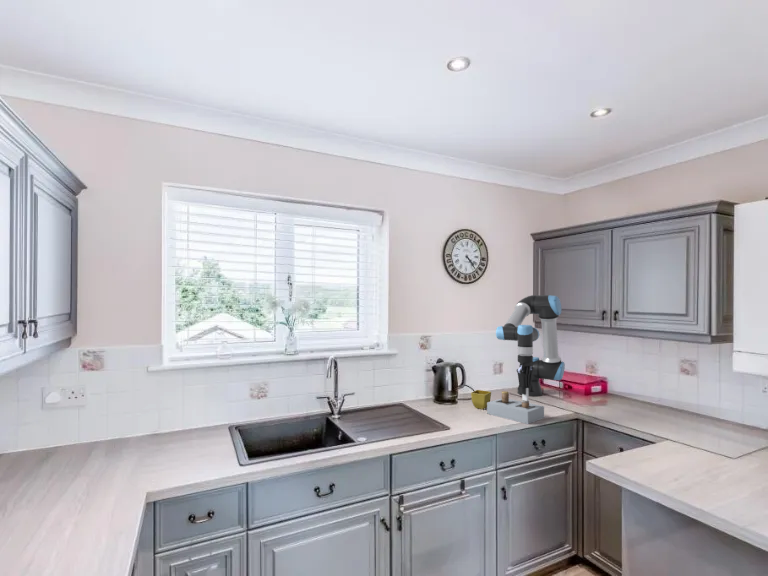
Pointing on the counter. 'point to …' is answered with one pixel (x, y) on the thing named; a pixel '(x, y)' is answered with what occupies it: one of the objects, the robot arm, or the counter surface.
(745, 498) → the counter surface
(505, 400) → the peg brass cap
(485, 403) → the flower pot
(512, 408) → the socket block
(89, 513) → the counter surface
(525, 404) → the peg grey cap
